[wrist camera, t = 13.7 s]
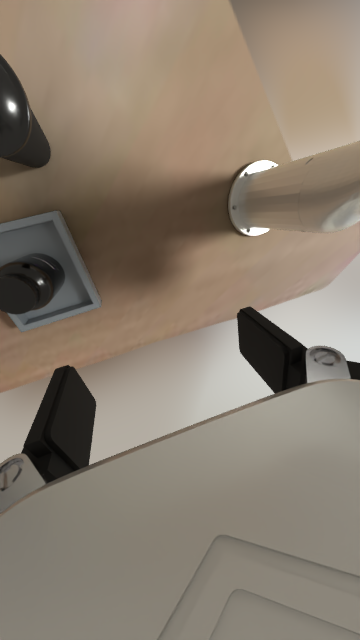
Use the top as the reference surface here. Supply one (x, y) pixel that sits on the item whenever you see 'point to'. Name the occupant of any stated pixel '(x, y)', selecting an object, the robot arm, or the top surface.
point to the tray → (57, 242)
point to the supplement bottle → (29, 283)
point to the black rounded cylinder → (19, 123)
